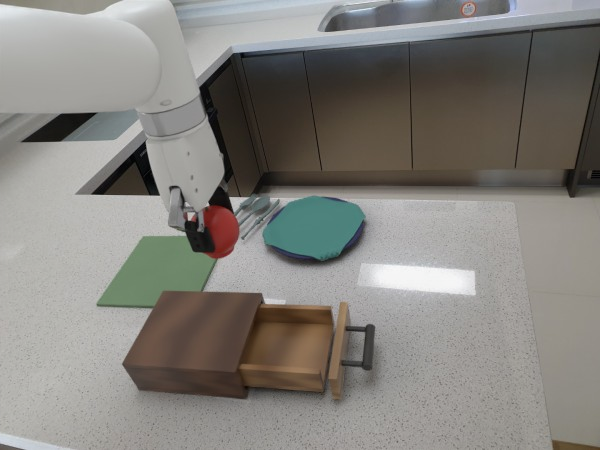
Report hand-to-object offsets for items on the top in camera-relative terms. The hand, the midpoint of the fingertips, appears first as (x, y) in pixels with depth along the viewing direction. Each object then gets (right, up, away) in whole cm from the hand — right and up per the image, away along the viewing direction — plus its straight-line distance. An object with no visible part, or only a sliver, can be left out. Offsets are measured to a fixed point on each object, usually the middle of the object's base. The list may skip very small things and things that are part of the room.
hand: (214, 232), depth 64 cm
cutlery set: (+11, 0, +32) cm, 34 cm away
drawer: (+13, -19, +5) cm, 23 cm away
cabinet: (-3, -20, +10) cm, 22 cm away
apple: (0, 0, 0) cm, 0 cm away
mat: (-15, -8, +28) cm, 33 cm away
